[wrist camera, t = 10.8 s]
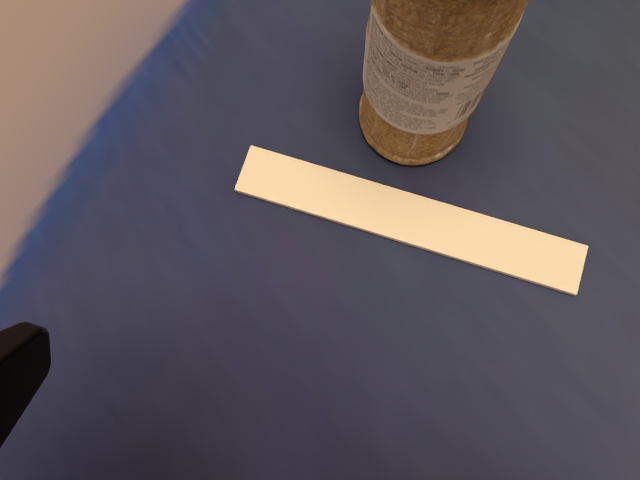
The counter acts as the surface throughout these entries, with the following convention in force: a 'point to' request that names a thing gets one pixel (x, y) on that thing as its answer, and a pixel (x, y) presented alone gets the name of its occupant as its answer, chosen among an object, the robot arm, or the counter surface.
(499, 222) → the thin cream strip
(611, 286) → the counter surface
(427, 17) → the sprinkles bottle
